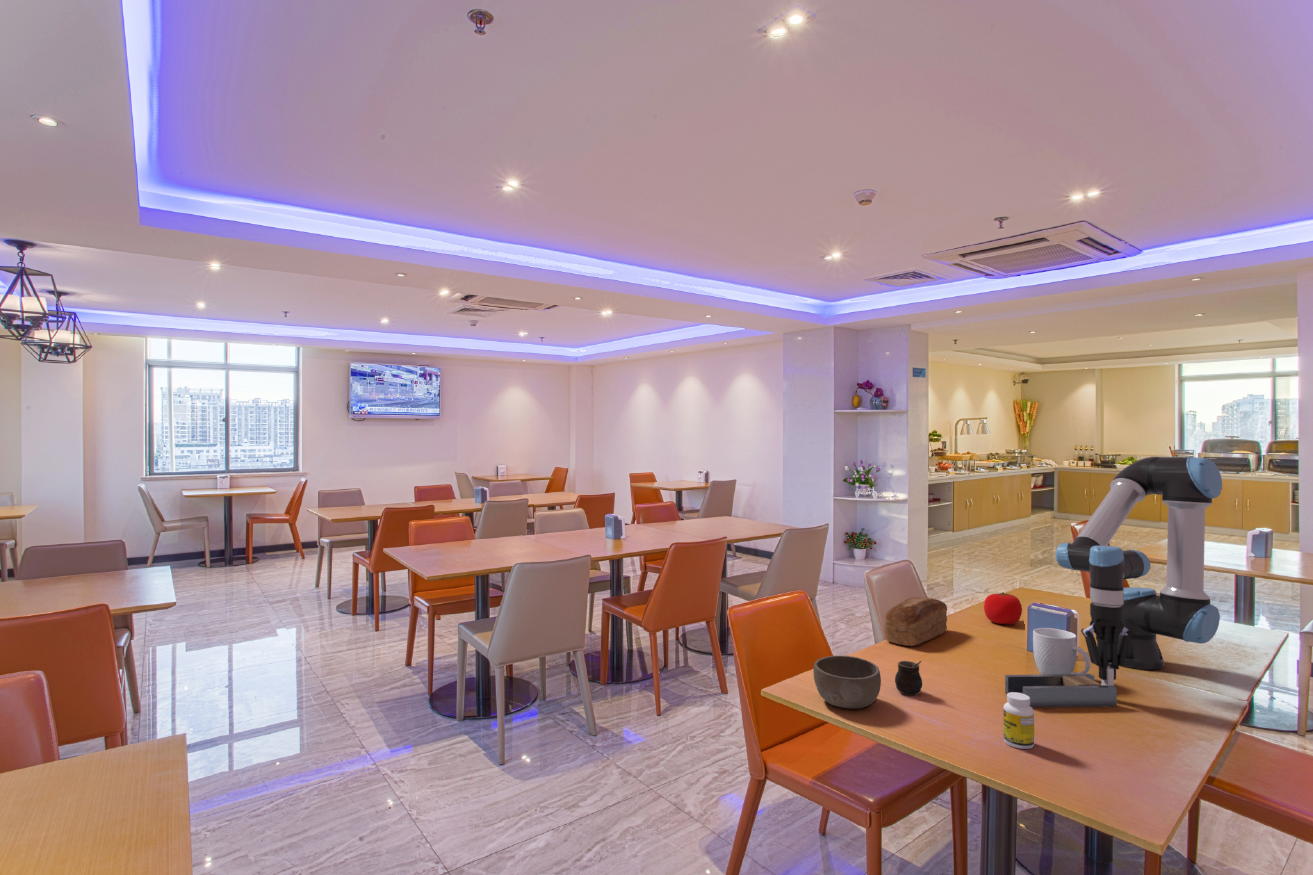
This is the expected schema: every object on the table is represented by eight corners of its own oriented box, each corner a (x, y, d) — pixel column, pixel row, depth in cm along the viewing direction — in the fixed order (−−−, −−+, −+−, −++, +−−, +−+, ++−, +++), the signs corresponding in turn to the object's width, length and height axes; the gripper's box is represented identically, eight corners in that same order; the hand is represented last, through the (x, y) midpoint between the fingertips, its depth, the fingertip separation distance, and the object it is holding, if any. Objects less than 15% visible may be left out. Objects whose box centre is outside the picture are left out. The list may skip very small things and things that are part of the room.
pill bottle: (997, 738, 154) (997, 691, 154) (1022, 737, 154) (1022, 690, 154) (1014, 750, 148) (1014, 701, 148) (1040, 749, 148) (1039, 700, 148)
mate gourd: (901, 685, 187) (901, 650, 187) (927, 693, 182) (928, 657, 182) (890, 692, 182) (890, 656, 182) (916, 700, 177) (917, 663, 177)
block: (1085, 692, 180) (1085, 676, 180) (1100, 701, 174) (1100, 684, 174) (1062, 692, 180) (1062, 676, 180) (1077, 701, 173) (1077, 684, 174)
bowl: (846, 721, 164) (846, 681, 164) (799, 697, 179) (799, 660, 180) (895, 708, 172) (895, 669, 172) (847, 686, 187) (846, 651, 188)
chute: (1091, 692, 182) (1090, 674, 182) (1116, 706, 172) (1116, 687, 172) (1005, 693, 181) (1005, 674, 181) (1026, 707, 171) (1026, 688, 171)
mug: (1098, 683, 188) (1098, 637, 189) (1080, 691, 182) (1080, 644, 183) (1044, 668, 201) (1044, 625, 201) (1026, 675, 195) (1025, 631, 195)
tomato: (991, 627, 246) (991, 596, 246) (979, 617, 259) (979, 588, 259) (1028, 628, 243) (1027, 597, 244) (1014, 618, 257) (1014, 589, 257)
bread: (952, 632, 240) (952, 595, 240) (913, 650, 219) (913, 610, 219) (920, 625, 249) (919, 590, 249) (879, 642, 228) (879, 604, 228)
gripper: (1120, 600, 181) (1121, 686, 181) (1073, 600, 181) (1074, 686, 180) (1141, 607, 173) (1141, 696, 173) (1092, 607, 173) (1093, 697, 173)
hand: (1107, 691), depth 177 cm, fingers closed
